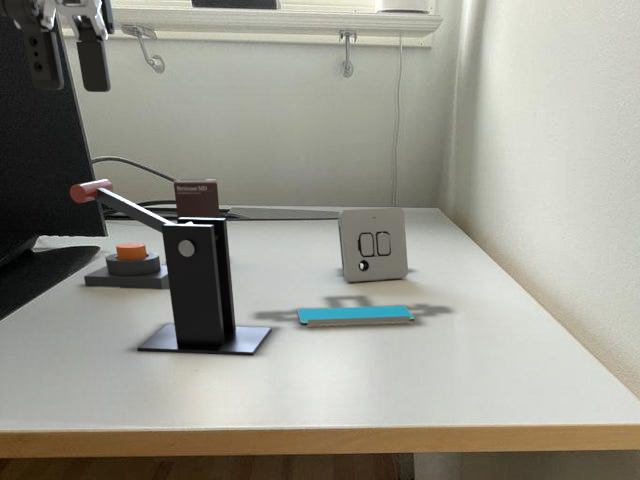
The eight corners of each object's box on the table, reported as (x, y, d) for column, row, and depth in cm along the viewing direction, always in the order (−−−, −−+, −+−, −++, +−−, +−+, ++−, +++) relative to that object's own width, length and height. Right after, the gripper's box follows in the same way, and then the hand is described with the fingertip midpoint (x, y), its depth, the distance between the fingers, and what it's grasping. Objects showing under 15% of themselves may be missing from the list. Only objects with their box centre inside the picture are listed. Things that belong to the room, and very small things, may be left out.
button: (113, 261, 84) (111, 247, 83) (125, 256, 87) (122, 242, 86) (140, 262, 84) (138, 248, 83) (151, 257, 87) (149, 243, 86)
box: (183, 272, 96) (172, 181, 90) (183, 266, 99) (172, 178, 93) (225, 270, 97) (217, 180, 91) (224, 264, 101) (216, 178, 95)
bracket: (138, 360, 62) (116, 227, 56) (168, 335, 69) (151, 214, 63) (253, 364, 61) (243, 229, 55) (272, 339, 68) (265, 216, 62)
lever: (66, 203, 57) (72, 176, 56) (95, 196, 62) (101, 170, 60) (197, 268, 58) (206, 242, 57) (215, 256, 63) (223, 232, 62)
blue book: (426, 303, 81) (427, 289, 80) (453, 332, 70) (454, 316, 70) (262, 309, 78) (261, 294, 77) (264, 339, 68) (263, 323, 67)
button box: (86, 293, 84) (80, 261, 82) (113, 279, 91) (108, 249, 89) (163, 296, 83) (158, 263, 81) (183, 281, 90) (180, 251, 88)
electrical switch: (346, 284, 90) (343, 210, 86) (334, 279, 94) (331, 209, 90) (409, 279, 93) (409, 208, 89) (394, 275, 97) (394, 207, 93)
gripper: (31, -139, 54) (72, 92, 62) (-89, -214, 41) (-18, 88, 49) (121, -141, 53) (150, 93, 61) (25, -218, 41) (78, 88, 49)
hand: (75, 90), depth 55 cm, fingers open, 8 cm apart
